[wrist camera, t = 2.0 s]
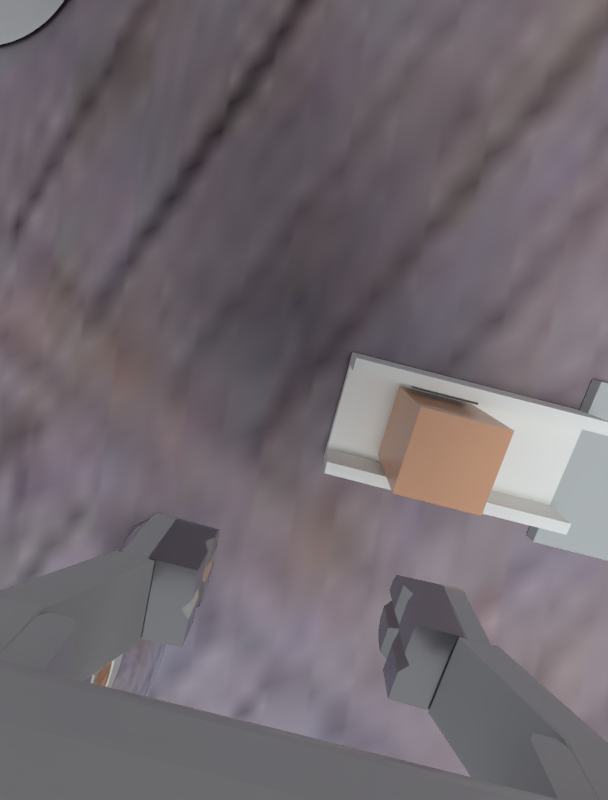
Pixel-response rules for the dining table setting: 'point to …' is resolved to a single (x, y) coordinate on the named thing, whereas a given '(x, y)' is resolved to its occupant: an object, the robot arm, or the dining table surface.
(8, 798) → the robot arm
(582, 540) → the pad
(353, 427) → the chute
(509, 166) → the dining table surface
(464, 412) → the block
